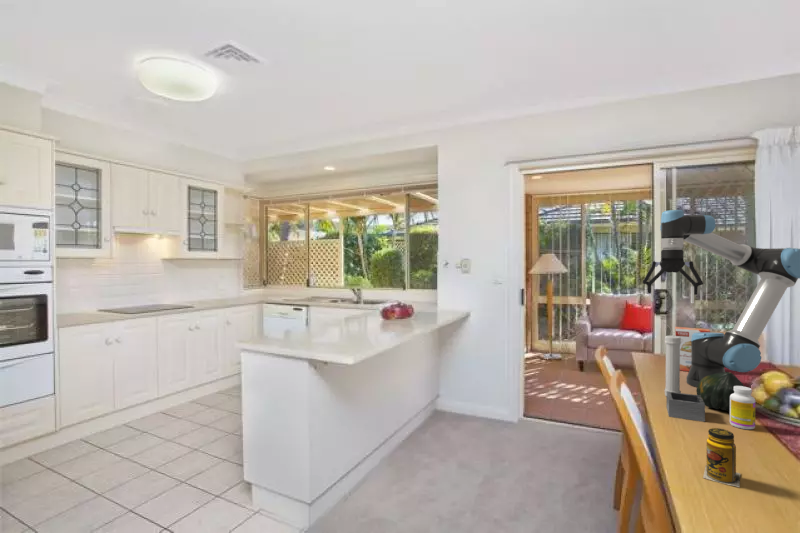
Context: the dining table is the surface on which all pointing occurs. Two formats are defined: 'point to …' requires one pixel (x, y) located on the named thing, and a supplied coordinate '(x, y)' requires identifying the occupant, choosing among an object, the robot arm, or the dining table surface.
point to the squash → (718, 390)
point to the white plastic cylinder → (672, 363)
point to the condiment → (721, 457)
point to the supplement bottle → (742, 408)
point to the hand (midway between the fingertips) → (671, 302)
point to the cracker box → (686, 345)
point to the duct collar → (685, 406)
